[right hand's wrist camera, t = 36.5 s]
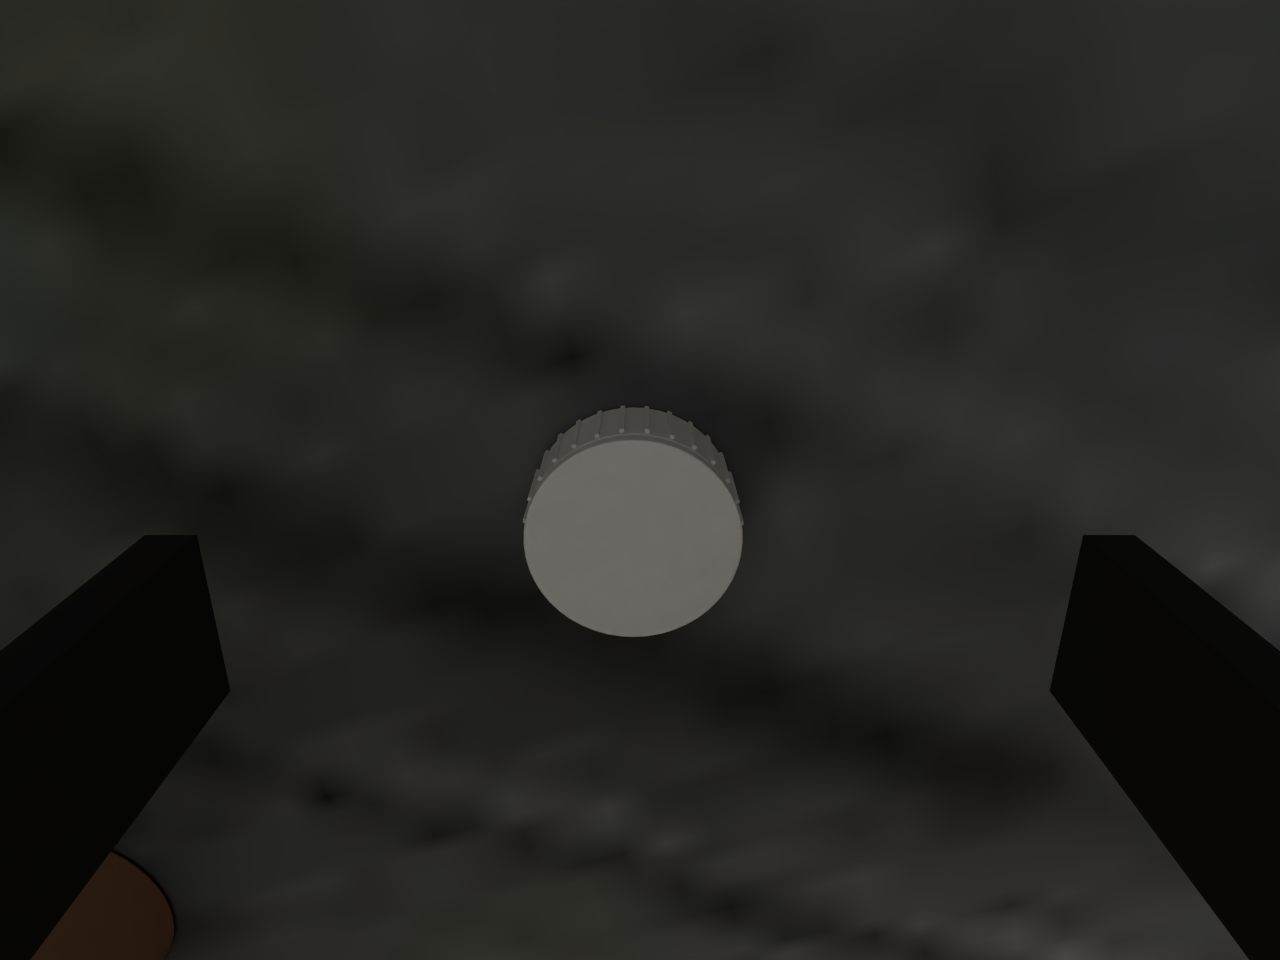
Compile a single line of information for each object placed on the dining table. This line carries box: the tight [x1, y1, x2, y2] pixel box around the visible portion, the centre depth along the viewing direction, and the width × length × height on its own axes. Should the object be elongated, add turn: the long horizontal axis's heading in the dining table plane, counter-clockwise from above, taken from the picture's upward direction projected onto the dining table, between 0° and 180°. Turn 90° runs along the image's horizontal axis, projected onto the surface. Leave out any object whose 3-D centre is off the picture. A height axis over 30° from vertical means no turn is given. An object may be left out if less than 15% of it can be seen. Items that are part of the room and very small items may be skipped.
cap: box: [523, 406, 744, 637], centre depth 16 cm, size 4×4×2 cm
